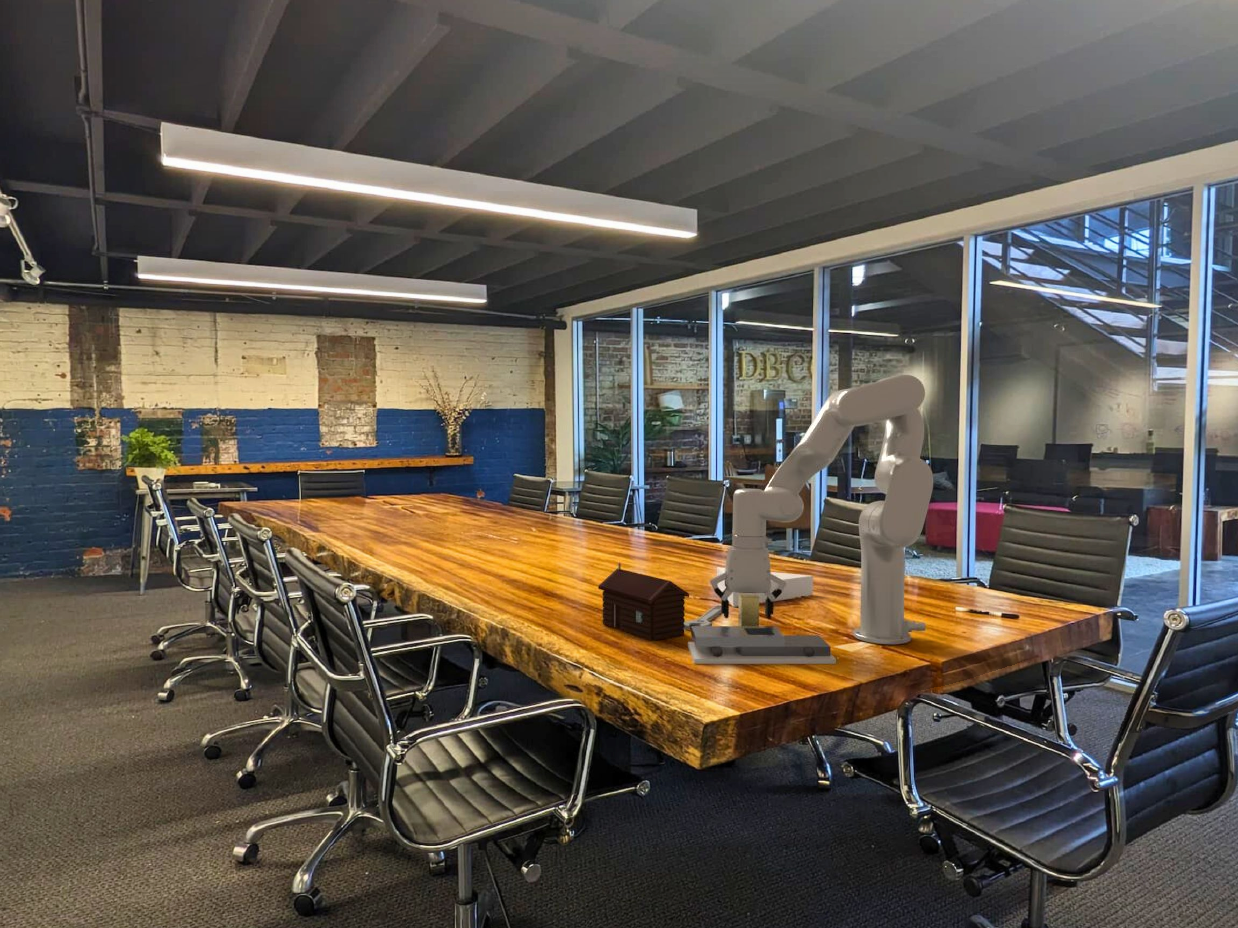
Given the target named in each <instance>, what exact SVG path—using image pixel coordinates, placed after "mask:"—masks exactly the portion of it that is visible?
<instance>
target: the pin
mask: <svg viewBox="0 0 1238 928" xmlns="http://www.w3.org/2000/svg"><path fill="white" fill-rule="evenodd" d="M737 626H760V603H759V597H758V596H757V595H756V594H739V606H738V625H737Z"/></svg>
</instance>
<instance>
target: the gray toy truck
mask: <svg viewBox="0 0 1238 928" xmlns="http://www.w3.org/2000/svg"><path fill="white" fill-rule="evenodd" d="M690 636H691V638H692V642H694V644H695V646H696V647H710V648H711V650H712V653H713V655H714V656H716V657H719V656H721V655H722V649H721V647H736V648H737V650H738V651H739V653H740V655H741V656H808V657H811V656H831V655H832V654H831V648H832V647H831V646H830V645H829V643H827V641H826V640H824V638H823V637H822V636H820V635H817V634H811V635H809V634H805V635H804V634H801V635H800V634H796V635H795V634H791V635H790V634H783V633H782V632H781V631H780V629H779V628H778V627H777V626H776V625H775V626H774V625H772V626H771V625H770V626H769V625H766V626H765V625H762V626H761V625H759V626H738V625H729V626H728V625H724V626H723V625H716V626H715V625H712V626H691V628H690Z"/></svg>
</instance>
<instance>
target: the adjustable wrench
mask: <svg viewBox="0 0 1238 928" xmlns="http://www.w3.org/2000/svg"><path fill="white" fill-rule="evenodd" d="M720 614H722V613H721V605H714V606H713V607H711V608H710V609H709V610H707V611H706V612H705V613H704V614H702V615H701V616H700V617H698V618H695V619H692V620H691V619H690V620H686V621H685V622H684V625H685V628H684V631H685V632H686V631H687V632H691V626H713V622H711V621H712V620H714V619H715V618H716V617H718V616H719V615H720Z"/></svg>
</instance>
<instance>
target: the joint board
mask: <svg viewBox="0 0 1238 928" xmlns="http://www.w3.org/2000/svg"><path fill="white" fill-rule="evenodd" d="M687 648H688V650H689V653H690V657H691V659H692V662H693V665H726V664H727V665H734V664H735V665H768V664H769V665H775V664H776V665H791V664H793V665H804V664H805V665H812V664H813V665H817V664H818V665H825V664H826V665H829V664H830V665H833V664H834V665H836V664H837V661H836V660H837V659H836V658H835V656H833V654H831V656H811V657H808V656H741V655H740V653H739V651H738V650H737V648H736V647H721V649H722V655H721V656H719V657H716V656H714V655H713V653H712V650H711V648H710V647H696V646H695V644H694V641H688V642H687Z"/></svg>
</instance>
